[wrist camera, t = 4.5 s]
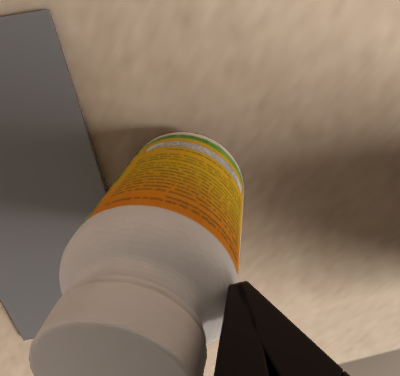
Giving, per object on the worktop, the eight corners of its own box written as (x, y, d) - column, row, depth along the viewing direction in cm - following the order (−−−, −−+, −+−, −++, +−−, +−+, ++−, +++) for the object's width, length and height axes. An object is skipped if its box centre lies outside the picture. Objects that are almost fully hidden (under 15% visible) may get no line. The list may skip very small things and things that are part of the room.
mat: (49, 9, 13) (47, 9, 12) (143, 311, 20) (143, 314, 20) (-142, 40, 12) (-148, 41, 12) (25, 336, 20) (23, 340, 19)
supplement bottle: (129, 123, 15) (-36, 278, 6) (250, 134, 14) (244, 319, 6) (135, 223, 18) (22, 426, 9) (238, 236, 17) (221, 465, 9)
